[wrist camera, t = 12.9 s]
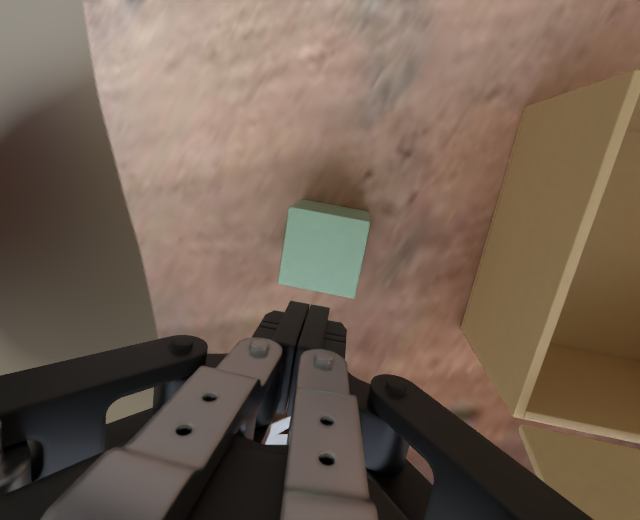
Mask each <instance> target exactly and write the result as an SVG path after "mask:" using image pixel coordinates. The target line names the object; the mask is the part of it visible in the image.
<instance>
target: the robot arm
mask: <svg viewBox="0 0 640 520" xmlns="http://www.w3.org/2000/svg"><path fill="white" fill-rule="evenodd" d="M329 309H330V308H328V307H322V306H317V305H312V304H311V306H310V309H309V304H306V303H300V302H295V301H290V303H289V305H288V307H287V309H286V311H285V312H280V311H275V310H274V311H272V312H270V313H268V314H266V315H265V316H264V318H263V320H262V322H261V323H260V325H259V327H258V328H257V330H256V331H255V333H254V334H253V336H252V338H246V339H243V340H241V341H239V342H238V343H237V344H236V345H235V346H234V347H233V349H232V350H231V351H230V352H229V353H227V354H207V349H208V346H207V343H206V342H205V341H204V340H202V339H200V338H198V337H194V336H189V335H176V336H170V337H166V338H161V339H157V340H153V341H148V342H145V343H140V344H136V345H131V346H127V347H123V348H119V349H114V350H110V351H105V352H101V353H97V354H92V355H88V356H84V357H79V358H75V359H71V360H66V361H62V362H58V363H53V364H49V365H45V366H41V367H36V368H32V369H28V370H23V371H19V372H14V373H10V374H6V375H1V376H0V520H594V519H592V518H591V517H590V516H588V515H587V514H586V513H584V512H583V511H582V510H580V509H579V508H578V507H576V506H575V505H574V504H572V503H571V502H570V501H568V500H567V499H566V498H564V497H563V496H562V495H560V494H559V493H558V492H556V491H555V490H554V489H552V488H551V487H550V486H548V485H547V484H546V483H545V482H543V481H542V480H541V479H539V478H538V477H537V476H535V475H534V474H533V473H531V472H530V471H529V470H527V469H526V468H525V467H523V466H522V465H521V464H519V463H518V462H517V461H515V460H514V459H513V458H511V457H510V456H509V455H507V454H506V453H505V452H503V451H502V450H501V449H499V448H498V447H497V446H495V445H494V444H493V443H492V442H490V441H489V440H488V439H486V438H485V437H484V436H482V435H481V434H480V433H478V432H477V431H476V430H474V429H473V428H472V427H470V426H469V425H468V424H466V423H465V422H464V421H462V420H461V419H460V418H458V417H457V416H456V415H454V414H453V413H452V412H450V411H449V410H448V409H446V408H445V407H444V406H442V405H441V404H440V403H439V402H437V401H436V400H435V399H433V398H432V397H431V396H429V395H428V394H427V393H425V392H424V391H423V390H421V389H420V388H419V387H417V386H416V385H415V384H413V383H412V382H410V381H408V380H407V379H404V378H402V377H399V376H395V375H388V374H383V375H378V376H375V377H374V378H373V379H372V380H371V384H369V383H366V382H364V381H361V380H359V379H357V378H355V377H354V376H352V375H351V374H350V373H349V372H348V370H347V363H346V361H345V349H346V332H347V330H346V328H345V327H344V326H343V324H342V323H339V322H334V321H329V320H328V315H329ZM153 387H154V397H153V408H151V409H148V410H145V411H142V412H139V413H136V414H134V415H131V416H128V417H125V418H123V419H120V420H117V421H114V422H112V423H109V424H106V412H107V410H108V408H109V407H110V405H111V404H112V403H113V402H114V401H116V400H117V399H119V398H121V397H124V396H128V395H131V394H134V393H137V392H140V391H143V390H146V389H149V388H153ZM288 399H289V401H288ZM287 403H288V407H287V413H286V415H289V416H291V418H290V424H289V430H288V437H287V443H286V445H266V444H265V443H266V441H267V438H268V436H269V434H270V431H271V425H272V421H273V419H274V417H275V415H276V413H279V414H284V413H285V410H286V406H287ZM409 445H410V446H411V447H413V448H414V449H415V450H416V451H417V452H418V453H419V454H420V455H421V456H422V457H423V458H424V459H425V460H426V461H427V462H428V463H429V465H430V467H431V469H432V472H433V475H434V484H433V485H432V484H431V483H430V482H429V481H428V480H427V479H426V478H425V477H424V476H423V475H422V474H421V473H420V472H419V471H418V470H417V469H416V468H415V467H414V466H413V465H412V464H411V463H410V462H409V461H408V460H407V459H406V456H407V452H408V448H409Z"/></svg>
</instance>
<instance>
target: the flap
mask: <svg viewBox="0 0 640 520" xmlns="http://www.w3.org/2000/svg"><path fill="white" fill-rule="evenodd" d="M518 431H519V433H520V436H521V438H522V441H523V443H524V446H525V448H526V451H527V453H528V456H529V458H530V461H531V463H532V466H533V468H534V471H535V473H536V476H537V477H538V478H539V479H541V480H542V481H543V482H545V483H546V484H547V485H548V486H550V487H551V488H552V489H554V490H555V491H556V492H558V493H559V494H560V495H562V496H563V497H564V498H566V499H567V500H568V501H570V502H571V503H572V504H574V505H575V506H576V507H578V508H579V509H580V510H582V511H583V512H584V513H586V514H587V515H588V516H590V517H591V518H592V519H594V520H640V449H635V448H631V447H626V446H621V445H616V444H612V443H607V442H602V441H597V440H593V439H588V438H583V437H578V436H574V435H569V434H564V433H559V432H555V431H550V430H545V429H540V428H536V427H531V426H526V425H520V427H519V429H518Z"/></svg>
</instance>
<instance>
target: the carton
mask: <svg viewBox="0 0 640 520" xmlns="http://www.w3.org/2000/svg"><path fill="white" fill-rule="evenodd" d="M460 329H461V331H462V333H463V334H464V336H465V338H466V339H467V341H468V343H469V344H470V346H471V348H472V349H473V351H474V353H475V354H476V356H477V358H478V359H479V361H480V363H481V364H482V366H483V368H484V369H485V371H486V373H487V374H488V376H489V378H490V379H491V381H492V383H493V384H494V386H495V388H496V389H497V391H498V393H499V394H500V396H501V398H502V399H503V401H504V403H505V404H506V406H507V408H508V409H509V411H510V413H511V414H512V416H513V417H516V418H521V419H522V418H523V419H526V420H530V421H535V422H540V423H545V424H549V425H554V426H559V427H564V428H569V429H573V430H578V431H583V432H588V433H592V434H597V435H602V436H607V437H611V438H616V439H621V440H626V441H631V442H635V443H640V69H633V70H631V71H628V72H625V73H622V74H619V75H616V76H613V77H610V78H607V79H604V80H601V81H599V82H596V83H593V84H590V85H587V86H584V87H581V88H578V89H575V90H572V91H569V92H567V93H564V94H561V95H558V96H555V97H552V98H549V99H546V100H543V101H540V102H537V103H535V104H532V105H529V106H526V107H524V110H523V114H522V117H521V121H520V124H519V128H518V131H517V135H516V138H515V141H514V145H513V148H512V152H511V155H510V159H509V162H508V166H507V169H506V173H505V176H504V180H503V183H502V186H501V190H500V193H499V197H498V200H497V204H496V207H495V211H494V214H493V218H492V221H491V224H490V228H489V231H488V235H487V238H486V242H485V245H484V249H483V252H482V256H481V259H480V262H479V266H478V269H477V273H476V276H475V280H474V283H473V287H472V290H471V294H470V297H469V300H468V304H467V307H466V311H465V314H464V318H463V321H462V325H461V328H460Z"/></svg>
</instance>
